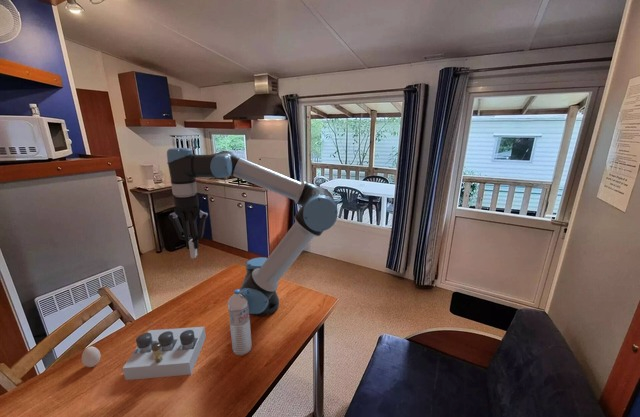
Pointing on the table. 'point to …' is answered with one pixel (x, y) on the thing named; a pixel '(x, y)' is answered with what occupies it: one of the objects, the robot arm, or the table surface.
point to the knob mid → (166, 340)
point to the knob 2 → (187, 339)
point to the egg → (90, 356)
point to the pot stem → (157, 352)
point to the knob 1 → (144, 342)
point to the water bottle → (240, 323)
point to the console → (165, 357)
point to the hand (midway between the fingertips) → (194, 256)
